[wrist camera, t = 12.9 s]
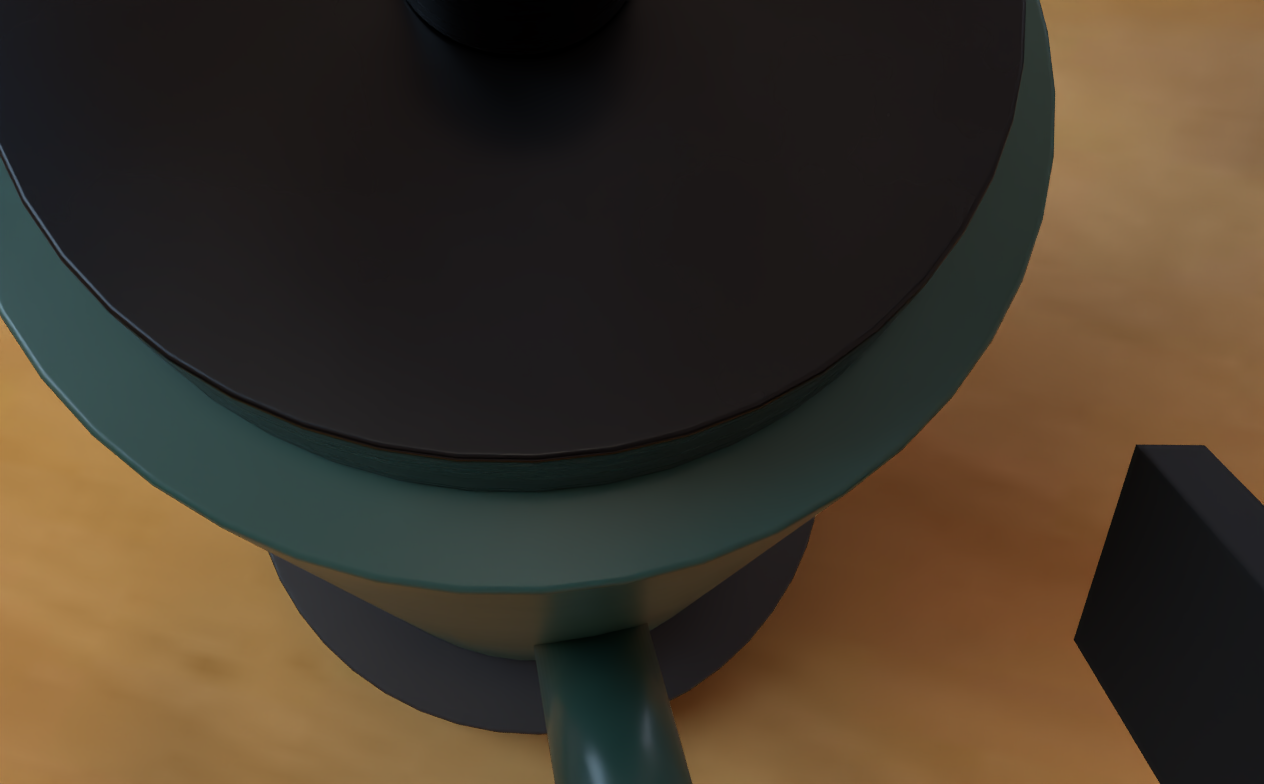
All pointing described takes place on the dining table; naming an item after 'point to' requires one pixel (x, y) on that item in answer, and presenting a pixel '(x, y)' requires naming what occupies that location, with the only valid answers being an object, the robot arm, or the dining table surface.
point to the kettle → (519, 287)
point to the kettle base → (511, 687)
